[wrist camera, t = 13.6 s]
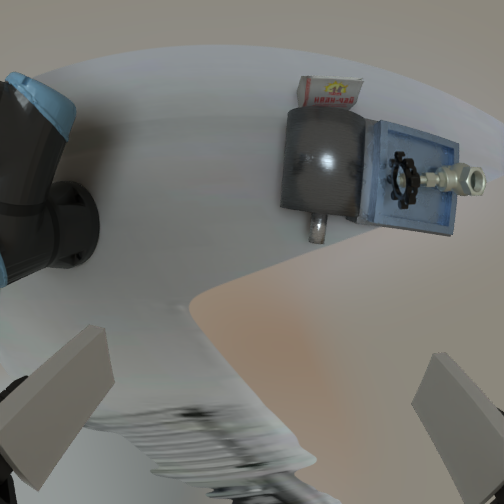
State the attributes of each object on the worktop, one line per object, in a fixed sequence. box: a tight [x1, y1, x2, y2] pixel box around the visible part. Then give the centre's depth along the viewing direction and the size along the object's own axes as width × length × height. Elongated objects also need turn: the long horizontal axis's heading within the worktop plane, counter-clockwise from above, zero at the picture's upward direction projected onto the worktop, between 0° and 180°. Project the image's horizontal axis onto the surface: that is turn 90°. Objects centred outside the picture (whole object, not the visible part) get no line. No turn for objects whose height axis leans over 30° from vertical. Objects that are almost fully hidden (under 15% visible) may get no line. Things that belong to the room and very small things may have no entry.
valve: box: [387, 151, 486, 210], centre depth 27 cm, size 7×7×12 cm
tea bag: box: [297, 76, 364, 110], centre depth 31 cm, size 4×7×10 cm, turn 94°
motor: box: [280, 106, 459, 244], centre depth 33 cm, size 26×17×10 cm, turn 85°
